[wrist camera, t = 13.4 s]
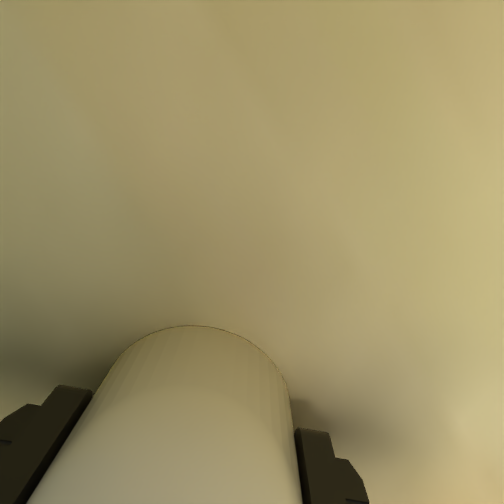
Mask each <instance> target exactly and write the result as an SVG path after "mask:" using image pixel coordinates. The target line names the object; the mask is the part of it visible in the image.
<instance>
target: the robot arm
mask: <svg viewBox="0 0 504 504" xmlns="http://www.w3.org/2000/svg"><path fill="white" fill-rule="evenodd" d="M92 398H93V394H92V391H91V390H87V389H81V388H75V387H70V386H64V385H58V386H57V387H56V388H55V389H54V390H53V391H52V393H51V394H50V395H49V396H48V398H47V399H46V400H45V401H44V403H43V404H42V405H41V406H38V405H33V404H26V405H25V406H23V407H21V408H20V409H18V410H17V411H15V412H13V413H12V414H10V415H8V416H7V417H5V418H4V419H3V420H2V421H1V422H0V504H26V503H27V501H28V500H29V498H30V496H31V495H32V493H33V492H34V490H35V489H36V487H37V485H38V484H39V482H40V481H41V479H42V477H43V476H44V474H45V473H46V471H47V469H48V468H49V466H50V465H51V463H52V461H53V460H54V458H55V457H56V455H57V454H58V452H59V450H60V449H61V447H62V446H63V444H64V442H65V441H66V439H67V438H68V436H69V434H70V433H71V431H72V430H73V428H74V426H75V425H76V423H77V422H78V420H79V419H80V417H81V415H82V414H83V412H84V411H85V409H86V407H87V406H88V404H89V403H90V401H91V399H92ZM294 439H295V447H296V454H297V462H298V470H299V478H300V485H301V493H302V501H303V504H369V499H368V496H367V493H366V490H365V487H364V483H363V480H362V479H361V477H360V476H359V474H358V473H357V472H356V470H355V469H354V467H353V466H352V465H351V463H350V462H349V460H346V459H340V458H335V455H334V451H333V447H332V443H331V439H330V436H329V434H328V433H327V432H321V431H316V430H310V429H304V428H299V427H298V428H297V429H296V431H295V433H294Z"/></svg>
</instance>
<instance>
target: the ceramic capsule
mask: <svg viewBox="0 0 504 504" xmlns="http://www.w3.org/2000/svg"><path fill="white" fill-rule="evenodd" d="M26 504H303V501H302V493H301V485H300V478H299V470H298V462H297V454H296V447H295V439H294V431H293V423H292V416H291V408H290V400H289V394H288V391H287V387H286V384H285V382H284V380H283V377H282V375H281V374H280V372H279V371H278V369H277V367H276V366H275V365H274V363H273V362H272V361H271V360H270V359H269V357H268V356H267V355H265V354H264V353H263V352H262V351H261V350H260V349H259V348H257V347H256V346H254V345H253V344H252V343H250V342H249V341H247V340H245V339H243V338H241V337H239V336H237V335H235V334H232V333H229V332H227V331H224V330H220V329H216V328H211V327H203V326H181V327H173V328H168V329H164V330H160V331H158V332H155V333H152V334H150V335H148V336H146V337H144V338H142V339H140V340H138V341H137V342H135V343H134V344H133V345H131V346H130V347H129V348H128V349H127V350H125V351H124V352H123V353H122V354H121V355H120V357H119V358H118V359H117V360H116V362H115V363H114V364H113V366H112V368H111V369H110V371H109V372H108V374H107V376H106V377H105V379H104V380H103V382H102V383H101V385H100V387H99V388H98V390H97V391H96V393H95V395H94V396H93V398H92V399H91V401H90V403H89V404H88V406H87V407H86V409H85V411H84V412H83V414H82V415H81V417H80V419H79V420H78V422H77V423H76V425H75V426H74V428H73V430H72V431H71V433H70V434H69V436H68V438H67V439H66V441H65V442H64V444H63V446H62V447H61V449H60V450H59V452H58V454H57V455H56V457H55V458H54V460H53V461H52V463H51V465H50V466H49V468H48V469H47V471H46V473H45V474H44V476H43V477H42V479H41V481H40V482H39V484H38V485H37V487H36V489H35V490H34V492H33V493H32V495H31V496H30V498H29V500H28V501H27V503H26Z"/></svg>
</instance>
